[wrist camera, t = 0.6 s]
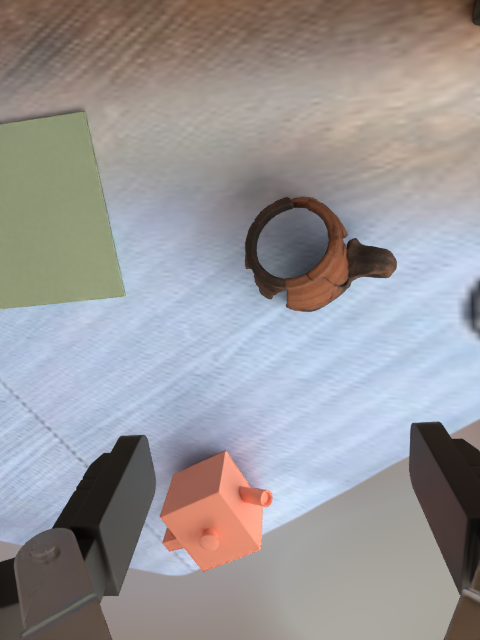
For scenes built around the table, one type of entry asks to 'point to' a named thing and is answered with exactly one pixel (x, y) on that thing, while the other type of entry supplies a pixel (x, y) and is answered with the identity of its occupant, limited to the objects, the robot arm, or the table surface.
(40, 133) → the desk mat
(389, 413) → the table surface
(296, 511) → the table surface
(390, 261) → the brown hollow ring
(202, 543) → the pink cube teapot
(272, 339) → the table surface
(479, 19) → the ceramic cat
